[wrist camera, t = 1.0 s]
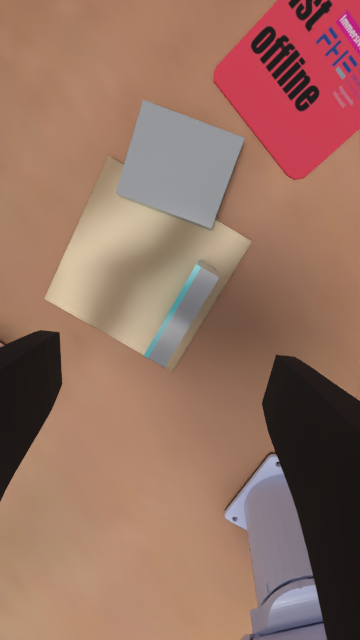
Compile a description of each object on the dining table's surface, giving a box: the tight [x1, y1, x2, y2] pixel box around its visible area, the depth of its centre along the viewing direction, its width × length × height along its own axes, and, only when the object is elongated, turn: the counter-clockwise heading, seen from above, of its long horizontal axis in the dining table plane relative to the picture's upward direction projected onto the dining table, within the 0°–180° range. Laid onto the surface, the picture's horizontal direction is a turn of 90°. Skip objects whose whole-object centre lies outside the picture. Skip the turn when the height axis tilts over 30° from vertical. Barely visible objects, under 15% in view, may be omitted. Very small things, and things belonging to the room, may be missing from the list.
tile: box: [144, 259, 219, 368], centre depth 20 cm, size 1×6×7 cm, turn 150°
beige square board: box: [45, 156, 252, 371], centre depth 23 cm, size 12×12×1 cm
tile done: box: [116, 100, 245, 231], centre depth 21 cm, size 7×6×1 cm
